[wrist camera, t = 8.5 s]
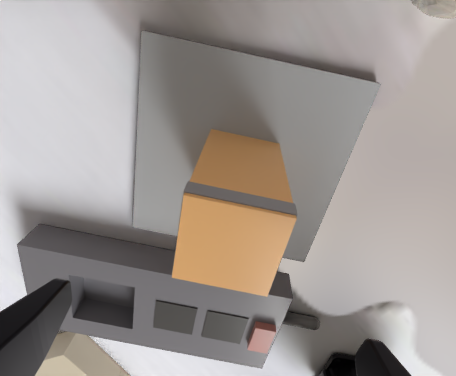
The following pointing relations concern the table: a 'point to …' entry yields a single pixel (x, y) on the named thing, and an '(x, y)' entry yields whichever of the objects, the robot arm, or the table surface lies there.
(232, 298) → the power strip
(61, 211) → the table surface
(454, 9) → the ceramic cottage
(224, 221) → the orange square peg
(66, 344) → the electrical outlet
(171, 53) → the mat
